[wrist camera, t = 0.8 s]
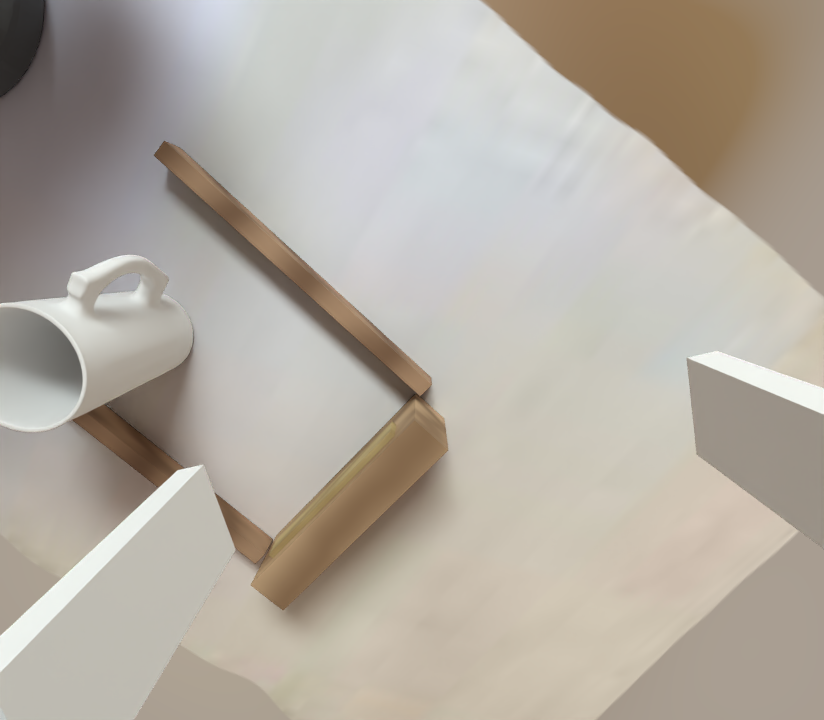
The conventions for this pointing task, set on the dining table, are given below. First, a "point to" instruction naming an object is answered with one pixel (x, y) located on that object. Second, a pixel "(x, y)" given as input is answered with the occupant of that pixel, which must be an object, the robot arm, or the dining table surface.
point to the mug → (87, 345)
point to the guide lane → (152, 458)
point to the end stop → (352, 501)
